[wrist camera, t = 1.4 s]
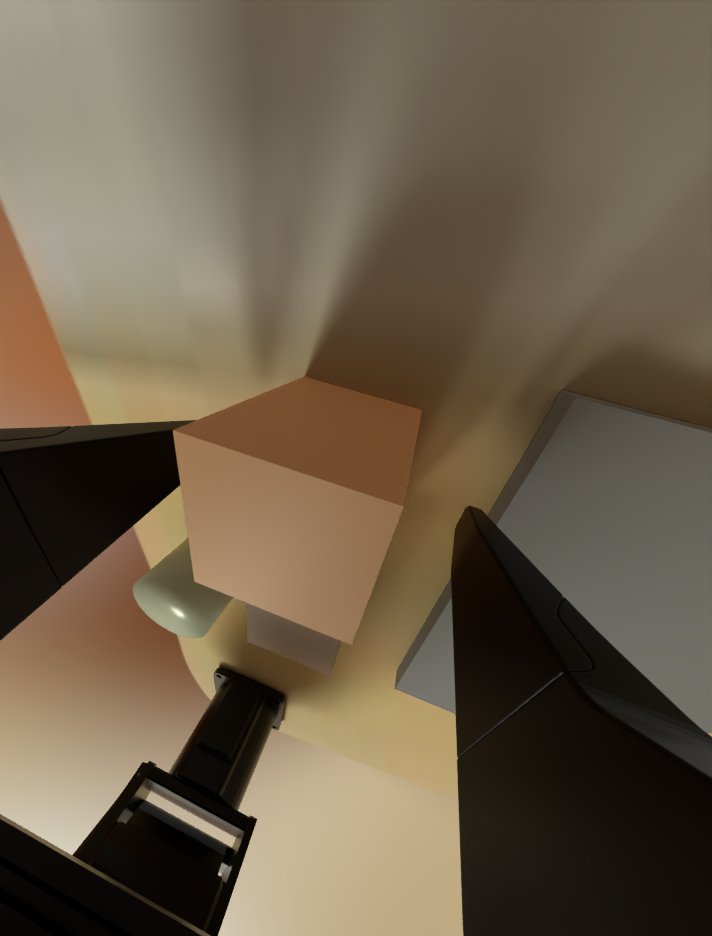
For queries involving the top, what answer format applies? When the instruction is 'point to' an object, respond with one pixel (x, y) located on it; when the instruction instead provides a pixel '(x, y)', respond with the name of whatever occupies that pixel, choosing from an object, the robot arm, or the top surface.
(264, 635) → the walnut block
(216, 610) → the sage cylinder
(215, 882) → the robot arm
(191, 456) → the terracotta block
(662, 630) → the slate mat
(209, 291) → the top surface
